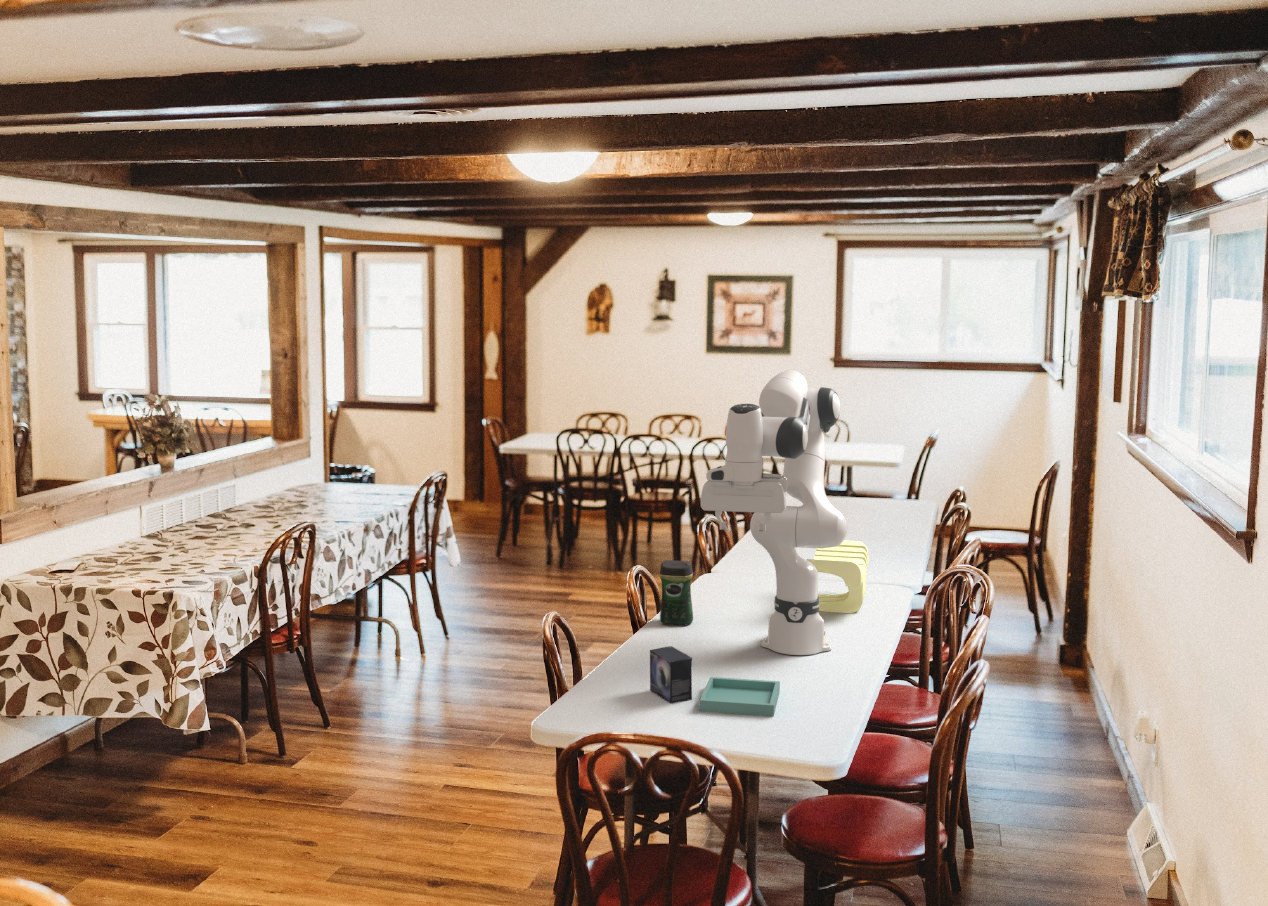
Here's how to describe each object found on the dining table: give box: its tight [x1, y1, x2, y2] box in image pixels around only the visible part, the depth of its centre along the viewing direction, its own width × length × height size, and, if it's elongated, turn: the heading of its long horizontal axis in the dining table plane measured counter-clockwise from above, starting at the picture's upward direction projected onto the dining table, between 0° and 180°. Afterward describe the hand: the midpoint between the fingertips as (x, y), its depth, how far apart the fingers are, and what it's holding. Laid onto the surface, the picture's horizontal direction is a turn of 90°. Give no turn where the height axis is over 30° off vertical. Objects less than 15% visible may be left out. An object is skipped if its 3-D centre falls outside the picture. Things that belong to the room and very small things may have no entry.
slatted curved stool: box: [806, 539, 869, 614], centre depth 359 cm, size 30×16×18 cm, turn 165°
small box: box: [649, 645, 693, 704], centre depth 279 cm, size 11×6×10 cm, turn 27°
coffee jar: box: [659, 559, 694, 627], centre depth 341 cm, size 10×8×19 cm
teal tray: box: [699, 676, 781, 717], centre depth 276 cm, size 17×17×3 cm
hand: (742, 530), depth 279 cm, fingers open, 8 cm apart
